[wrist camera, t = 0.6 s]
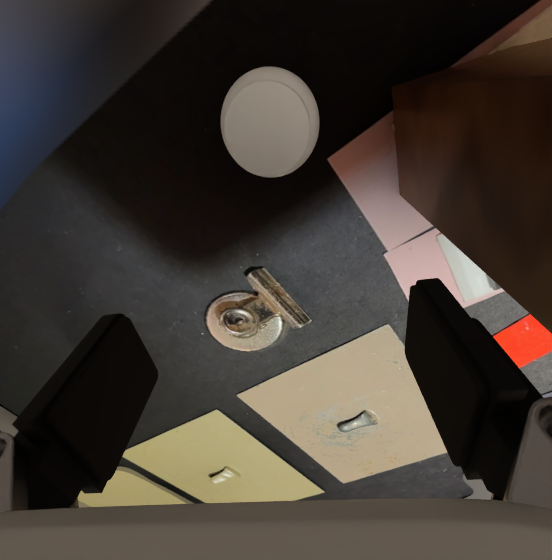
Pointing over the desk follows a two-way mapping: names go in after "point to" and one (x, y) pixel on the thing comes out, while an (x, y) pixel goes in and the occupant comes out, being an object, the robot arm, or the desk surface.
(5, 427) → the gray half cylinder
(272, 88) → the pill bottle
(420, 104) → the stand
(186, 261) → the desk surface
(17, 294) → the desk surface
